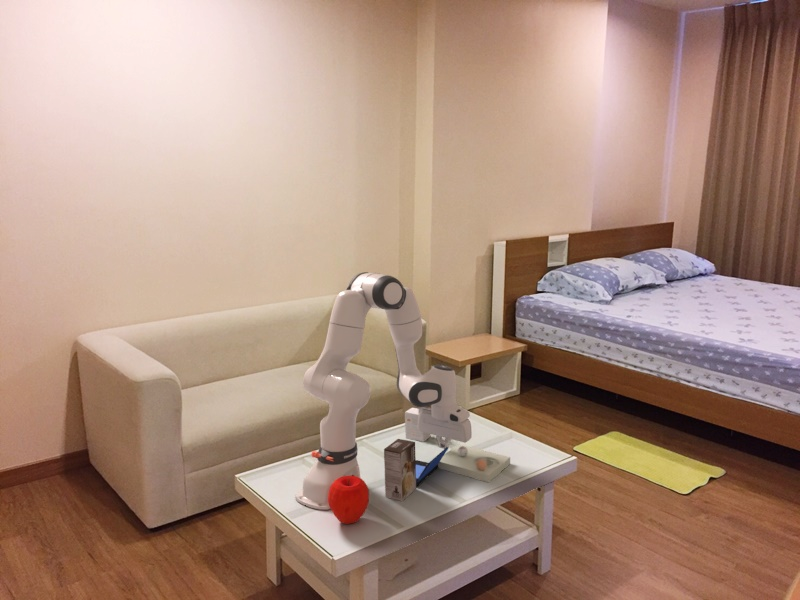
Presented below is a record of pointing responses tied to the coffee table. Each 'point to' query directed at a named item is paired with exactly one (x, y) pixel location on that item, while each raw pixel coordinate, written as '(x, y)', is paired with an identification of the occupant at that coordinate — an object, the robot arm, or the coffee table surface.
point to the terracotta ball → (481, 464)
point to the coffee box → (400, 469)
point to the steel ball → (462, 451)
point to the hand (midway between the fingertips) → (444, 447)
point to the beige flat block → (474, 463)
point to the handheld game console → (427, 467)
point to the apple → (348, 498)
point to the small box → (414, 426)
